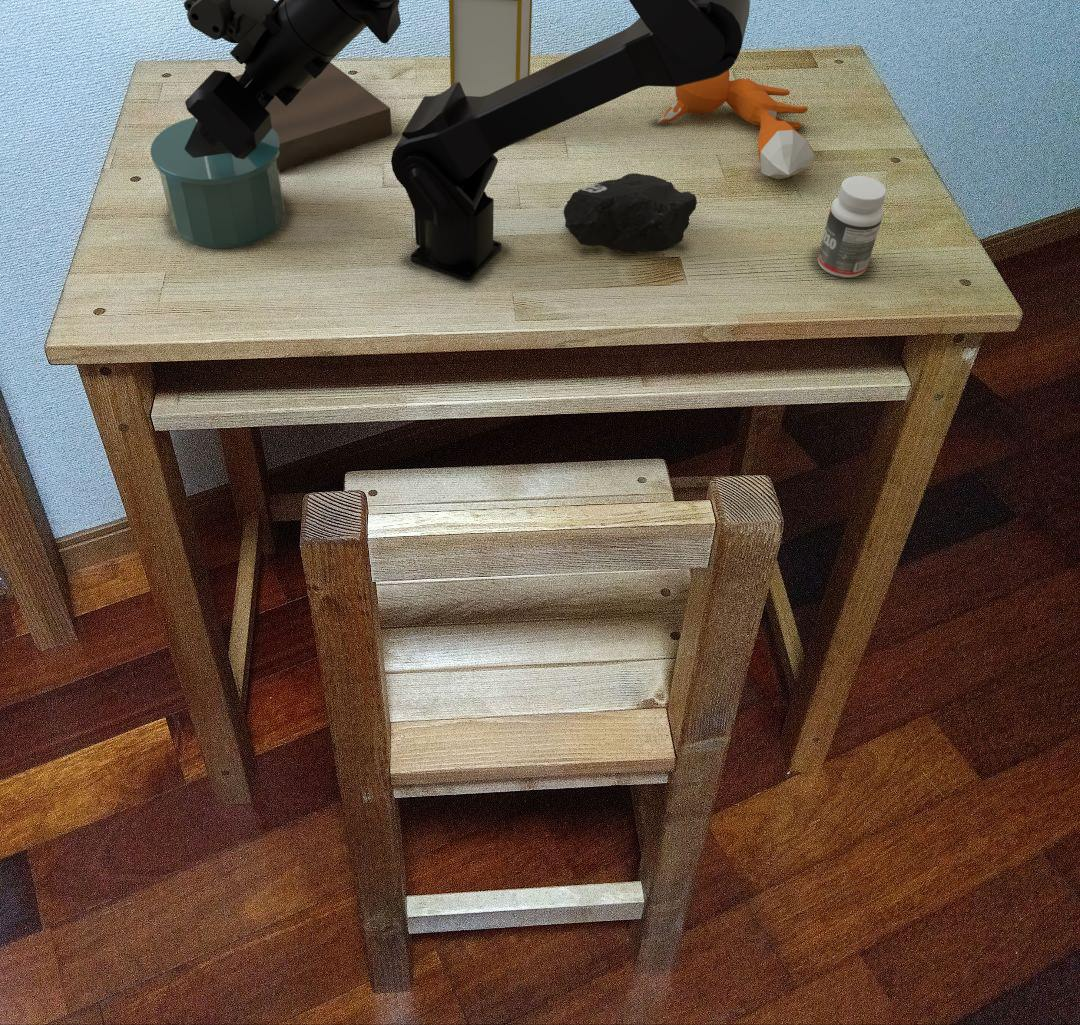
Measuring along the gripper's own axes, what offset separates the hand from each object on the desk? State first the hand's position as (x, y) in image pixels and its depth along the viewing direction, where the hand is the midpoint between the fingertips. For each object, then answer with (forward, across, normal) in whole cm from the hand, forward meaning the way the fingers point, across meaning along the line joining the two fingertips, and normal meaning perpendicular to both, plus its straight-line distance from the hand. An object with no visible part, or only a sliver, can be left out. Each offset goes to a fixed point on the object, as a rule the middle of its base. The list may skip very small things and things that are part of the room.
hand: (211, 127), depth 103 cm
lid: (+2, 0, +2) cm, 2 cm away
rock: (-20, -9, +33) cm, 40 cm away
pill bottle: (-35, -9, +48) cm, 60 cm away
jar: (+6, 0, +7) cm, 9 cm away
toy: (-27, -29, +40) cm, 56 cm away
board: (+7, -19, +7) cm, 21 cm away
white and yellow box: (-7, -23, +21) cm, 31 cm away
